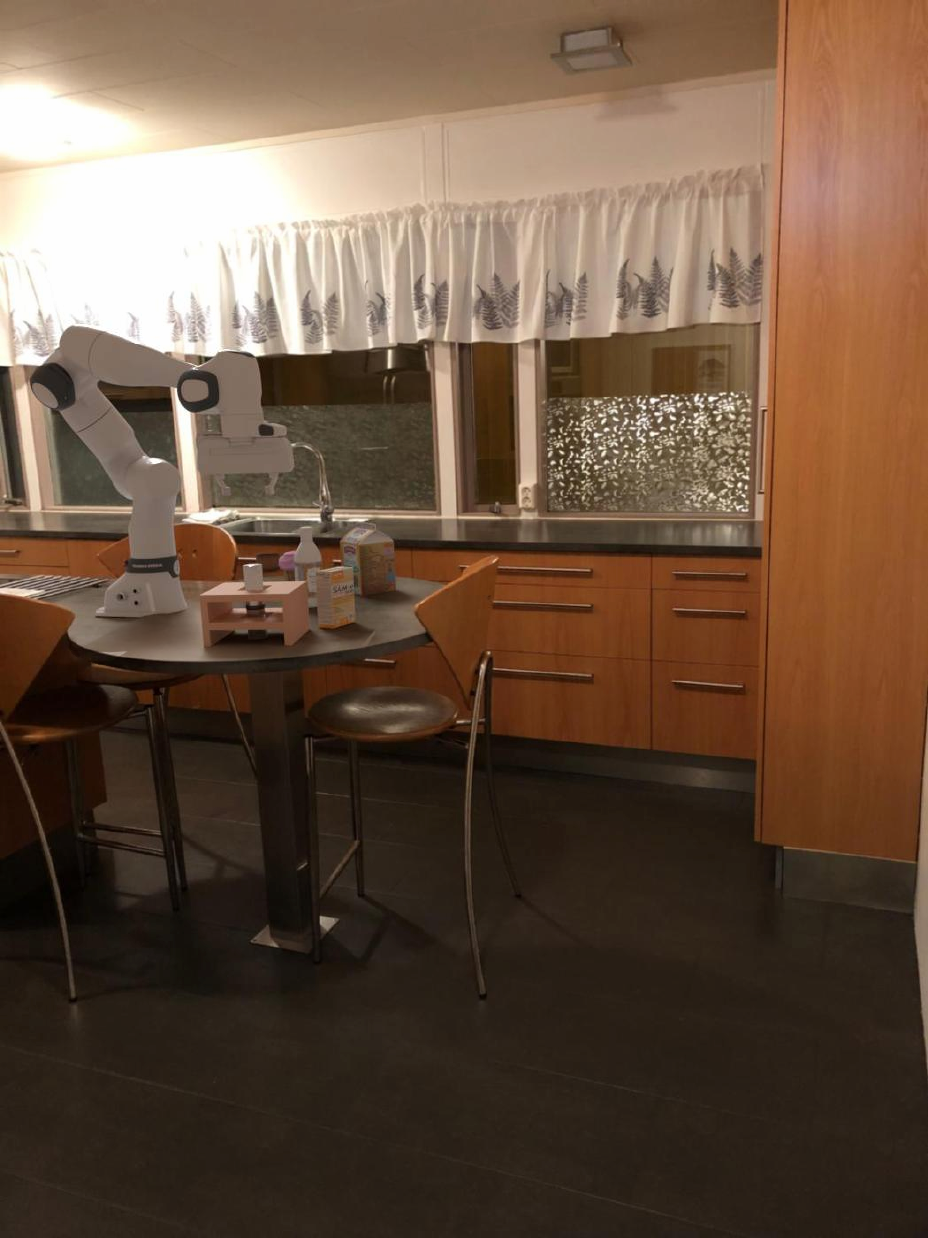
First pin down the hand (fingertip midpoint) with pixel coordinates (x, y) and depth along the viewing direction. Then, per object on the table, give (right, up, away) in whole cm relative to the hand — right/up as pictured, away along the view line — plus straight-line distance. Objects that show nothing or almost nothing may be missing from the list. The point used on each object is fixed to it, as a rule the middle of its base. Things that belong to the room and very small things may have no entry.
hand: (248, 495), depth 209 cm
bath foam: (+7, -23, +41) cm, 48 cm away
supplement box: (+17, -28, +17) cm, 37 cm away
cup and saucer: (-14, -13, +95) cm, 97 cm away
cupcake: (-2, -17, +73) cm, 75 cm away
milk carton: (+20, -20, +57) cm, 63 cm away
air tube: (+1, -30, +6) cm, 31 cm away
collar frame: (+1, -30, +6) cm, 31 cm away
